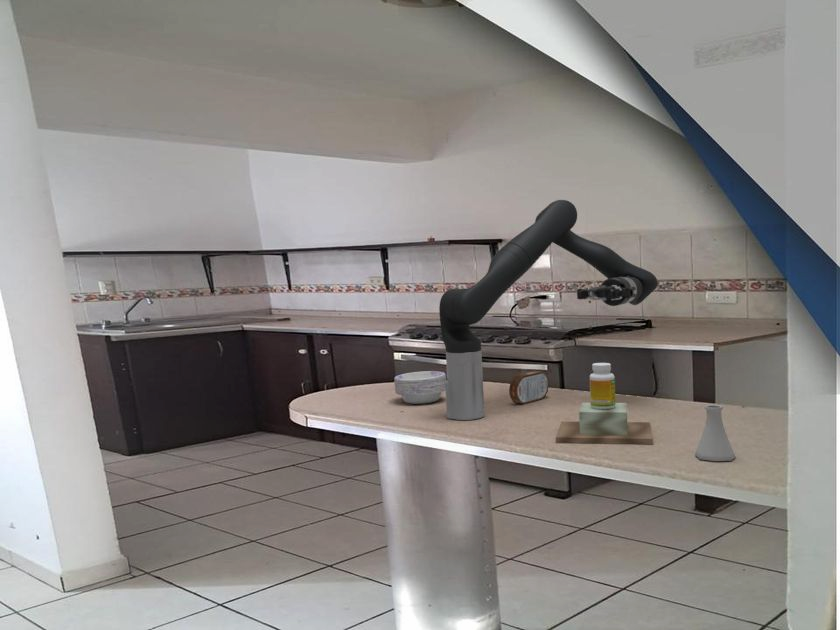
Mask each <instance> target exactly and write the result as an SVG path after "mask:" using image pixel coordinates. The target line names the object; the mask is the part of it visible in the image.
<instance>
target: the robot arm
mask: <svg viewBox="0 0 840 630" xmlns="http://www.w3.org/2000/svg"><path fill="white" fill-rule="evenodd" d="M577 220H578V211H577V207H576V206H575V205H574V204H573V203H572V201H571V202H570V201H569V200H566V199H557V200H554V201H552V202H550V203H549V204H548V205H546V207H545V208H543V209H542V210H541V211H540V212H539V213H538V214H537V216H536V218H535V220H534V222H533V223H532V224H531V225H530V226H529V227H527V228H526V229H524V230H523V231H521V232H519V233H518V234H517V235H515V237H513V238H512V239H510V240H509V241H508V242H507V243H505V245H503V246H502V247H501V248H500V249H499V250H498V251H496V253H495V254H494V255H493V257H492V258H491V260H490V263H489V266H488V269H487V272H486V274H485V275H484V276H483V277H482V278H481V279H480V280H479V281H477V282H476V283H475V284H473V285H472V286H471V287H468V288H452V289H448V290H446V291H445V292H444V293H443V294H442V296H441V298H440V300H439V306H438V307H439V312H438V313H439V322H440V331H441V338H442V342H443V344H444V346H445V348H444V349H445V363H446V382H445V388H446V390H445V403H446V404H445V405H446V418H447V419H452V420H457V421H470V420H471V421H472V420H477V419H481V418H484V417H485V394H484V377H483V375H484V374H483V358H482V357H483V355H482V340H481V339H480V338H479V337H478V336H476V335H475V334H474V332H472V330H471V328H470V326H473V325H475V324H477V323H479V322H480V321H481V320H482V319H483V318H485V317H486V315H487V314H488V312H489V311H490V310H491V309H492V307H493V306H494V305H495V304H496V302H497V301H498V300H499V299H500V298H501V297H502V296H503V294H505V293H506V291H508V290H509V289H510V288H511V287H512V286H513V285H514V284H515V282H517V281H518V280H519V279H521V277H523V276H524V275H525V274H526V273H527V272H528V271H529V270H530V269H531V268H532V266H534V265H535V264H536V262H537V261H538V260H539V259H540V258H541V256H543V254H544V253H545V251H546V250H547V249H548V248H549V247H550V246H551V245H552V244H555V245H556V246H558V247H560V248H562V249H564V250H566V251H567V252H569V253H570V254H573V255H574V256H576V257H577V258H580V259H581V260H583V261H584V262H586V264H589V265H590V266H592V267H593V268H594V269H596V271H598V272H599V273H601V274H602V275H603V276H604V277H606V279H605V280H604V281H603V282H602V283H601V285H598V286H590V287H586V288H578V289H576V299H577V300H587V299H588V300H590V301H602V303H604V304H606V305H607V306H609V307H610V306H611V307H616V306H621V305H622V306H623V305H627V304H630V305H633V306H637V305H640V304H641V303H643V301H645V299H647V297H649V296H650V295H651V294H652V293H653V292H654V291H656V289H657V287H658V286H659V281H658V278H657V277H656V275H654V274H653V273H652V272H650V271H648V270H646V269H645V268H642V267H639V266H636V265H635V264H632V263H630V262H629V261H627V260H625V258H623V257H622V256H621V255H619V254H618V253H617V252H616V251H614V250H613V249H611V248H609V247H608V246H606V245H603V244H601V243H599V242H595V241H593V240H590V239H587V238H584V237H581V236H580V235H578V234H576V233H575V232H573V231H572V230H571V229H573V227H575V224H576V222H577Z"/></svg>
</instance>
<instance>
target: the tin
mask: <svg viewBox="0 0 840 630" xmlns="http://www.w3.org/2000/svg"><path fill="white" fill-rule="evenodd" d="M548 391H549V377H548V375H547V373H546V372H544V371H541V370H535V369H534V370H529V371H525V372H520V373H517V374H515V375H514V376H513V377H512V379H511V381H510V383H509V389H508V393H509V397H510V400H511V401H512V402H513V403H515V404H521V405H525V404H528V403H533V402H537V401H541V400H543V399H544V398H545V397H546V396H547V394H548Z"/></svg>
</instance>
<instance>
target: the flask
mask: <svg viewBox="0 0 840 630" xmlns="http://www.w3.org/2000/svg"><path fill="white" fill-rule="evenodd" d="M723 408H724V406H723V405H720V404H706V405H705V406H704V409H705V410H706V419H705V423H704V424H705V425H704V427H703V431H702V434H701V436H700V439H699V442H698V445H697V447H696V450H695V453H694V456H695V457H697V458H698V459H699V460H703V461H704V460H705V461H710V462H728V461H729V462H731V461H733V460H734V459H735V458H736V455H735V453H734V450H733V447H732V444H731V442H730V439H729V437H728V434H727V431H726V429H725V426H724V423H723V422H724V421H723V418H722V417H723V415H722V411H723Z"/></svg>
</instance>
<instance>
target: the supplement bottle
mask: <svg viewBox="0 0 840 630" xmlns="http://www.w3.org/2000/svg"><path fill="white" fill-rule="evenodd" d="M591 367H592V371H593V373H590V375H589V397H590V401H589V403H591V407H592V408H595V409H612V408H615V406H616V403H617V402H616V380H615V379H616V376H615V375H614V373H611V371H612V364H611V363H609V362H595V363H592V365H591Z"/></svg>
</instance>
